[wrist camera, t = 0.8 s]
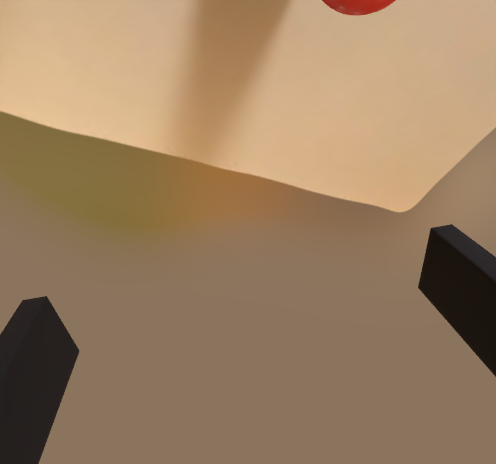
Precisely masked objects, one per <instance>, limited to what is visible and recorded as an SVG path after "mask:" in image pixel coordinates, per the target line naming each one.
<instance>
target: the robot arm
mask: <svg viewBox="0 0 496 464" xmlns="http://www.w3.org/2000/svg"><path fill="white" fill-rule="evenodd" d="M418 288H419V289H420V290H421V291H422V293H423V294H424V295H425V296H426V297H427V298H428V299H429V301H430V302H431V303H432V304H433V305H434V306H435V307H436V309H437V310H438V311H439V312H440V313H441V314H442V315H443V317H444V318H445V319H446V320H447V321H448V322H449V323H450V325H451V326H452V327H453V328H454V329H455V330H456V332H457V333H458V334H459V335H460V336H461V337H462V338H463V340H464V341H465V342H466V343H467V344H468V345H469V347H471V349H472V350H473V351H474V352H475V353H476V355H477V356H478V357H479V358H480V359H481V360H482V361H483V362H484V364H485V365H486V366H487V367H488V368H489V369H490V371H491V372H492V373H493V374H494V375H495V376H496V257H495V256H493V255H492V254H491V253H489V252H488V251H487V250H485V249H484V248H483V247H481V246H480V245H478V244H477V243H476V242H475V241H473V240H472V239H471V238H469V237H468V236H467V235H465V234H464V233H463V232H461V231H460V230H459V229H457V228H456V227H454V226H453V225H452V224H451V225H446V226H441V227H435V228H431V230H430V235H429V239H428V244H427V249H426V253H425V258H424V263H423V267H422V272H421V277H420V281H419V286H418ZM78 354H79V349H78V348H77V346H76V344H75V343H74V341H73V339H72V338H71V336H70V334H69V333H68V331H67V329H66V328H65V326H64V324H63V323H62V321H61V319H60V318H59V316H58V314H57V313H56V311H55V309H54V308H53V306H52V304H51V303H50V301H49V299H48V298H47V296H45V297H39V298H33V299H28V300H23V301H22V302H21V304H20V305H19V307H18V308H17V310H16V311H15V313H14V314H13V316H12V318H11V319H10V321H9V322H8V324H7V325H6V327H5V329H4V330H3V332H2V333H1V335H0V464H38V463H39V460H40V458H41V455H42V452H43V450H44V447H45V444H46V441H47V438H48V436H49V433H50V430H51V428H52V425H53V422H54V419H55V417H56V414H57V411H58V408H59V406H60V403H61V400H62V397H63V395H64V392H65V389H66V386H67V383H68V381H69V378H70V375H71V373H72V370H73V367H74V364H75V361H76V359H77V356H78Z"/></svg>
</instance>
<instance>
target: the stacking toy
mask: <svg viewBox="0 0 496 464" xmlns="http://www.w3.org/2000/svg"><path fill="white" fill-rule="evenodd" d="M322 1H323V2H324V3H325V4H327V5H328V6H329V7H330V8H332V9H334V10H336V11H337V12H340V13H342V14H347V15H366V14H370V13H373V12H377V11H379V10H381V9H384V8H385V7H387V6H388V5H390V4H392V3H393V2H394V1H395V0H322Z"/></svg>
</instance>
